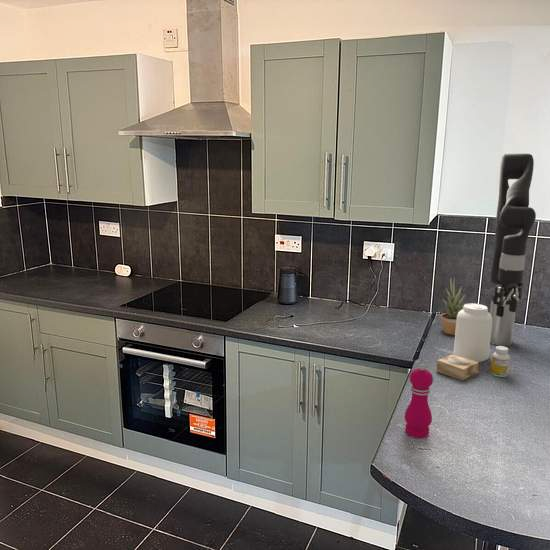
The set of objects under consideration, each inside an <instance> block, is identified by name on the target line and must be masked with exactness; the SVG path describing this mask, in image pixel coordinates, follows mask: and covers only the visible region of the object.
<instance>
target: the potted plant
mask: <svg viewBox="0 0 550 550" xmlns="http://www.w3.org/2000/svg"><path fill="white" fill-rule="evenodd" d="M449 281H450V291H449V290H448V288H447V287H445V290H446V293H447V300H448V302H447V301H446V300H444V298H442V302H443V303H444V304H445V307H444V308H445V310H446V311H445V313H441V314H440V320H441V323H442V327H443V332H444V334H447V335H453V336H455V331H456V320H457V315H458V312H459V311H461V310H462V309H463V306H464V305H465V303H463V302H464V301H465V299H464V298H465V297H466V294H464V295H463V296H462V297H461V294H462V293H461V291H462V287H460V288H459V290H458V292H457V293H456V287H455V286H456V285H455V283H456V282H455V281H456V280H455V277H453V282H452V278H451V277H450V279H449ZM450 292H451V293H450ZM460 297H461V299H460Z"/></svg>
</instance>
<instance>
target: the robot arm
mask: <svg viewBox="0 0 550 550" xmlns="http://www.w3.org/2000/svg"><path fill="white" fill-rule="evenodd" d="M534 163H535V162H534V156H533V155H532V154H531V153H504V154H503V155H502V156H501V158H500V161H499V174H498V175H499V178H498V180H499V182H498V201H497V207H496V216H495V228H494V229H495V230H494V231H495V232H494V244H493V245H494V246H493V252H492V253H493V254H492V259H491V266H490V275H489V276H490V277H489V278H490V283H492V284H494V285H500V286H495V289H494V290H495V291H494V292H493V293H492V294H491V303H490V312H489V313H490V315H491V316H492V330H491V339H490V345H495V346H504V347H508V346H511V345H512V344H513V338H514V337H513V336H514V329H515V320H516V319H515V318H516V312H517V306H518V302H519V300H522V296H523V288H524V286H523V285H524V281H523V279H524V272H525V263H526V257H525V256H526V248H527V243H528V238H529V235H530V233H531V231H532V228H533V226H534V224H535V222H536V218H537V213H536V211H535V209H534V208H532V207H530V188H531V185H532V180H533V173H534V165H535V164H534ZM509 180H516V181H514V182H513V183H512V184H509Z"/></svg>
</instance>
